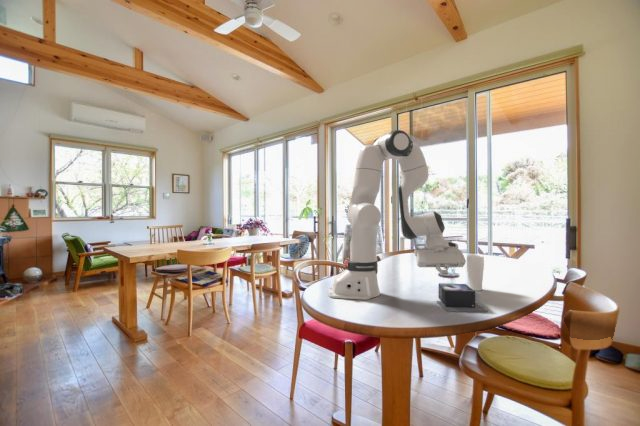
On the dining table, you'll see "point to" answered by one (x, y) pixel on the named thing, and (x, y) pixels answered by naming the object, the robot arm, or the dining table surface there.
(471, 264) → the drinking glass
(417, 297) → the dining table surface
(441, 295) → the small box
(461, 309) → the mat
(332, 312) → the dining table surface
